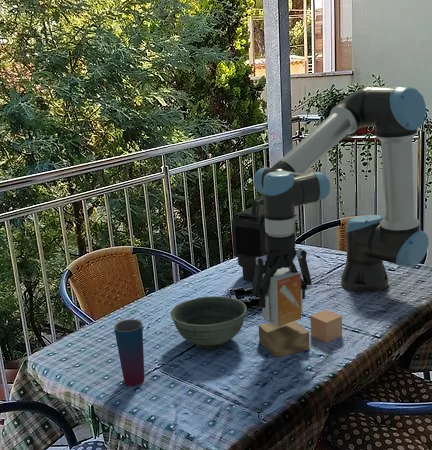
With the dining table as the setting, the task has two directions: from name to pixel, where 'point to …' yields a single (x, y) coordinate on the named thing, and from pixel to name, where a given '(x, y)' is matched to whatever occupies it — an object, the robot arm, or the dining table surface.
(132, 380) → the cup
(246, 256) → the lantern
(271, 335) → the walnut plinth
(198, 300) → the bowl
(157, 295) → the dining table surface
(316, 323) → the terracotta cube
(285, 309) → the small box
